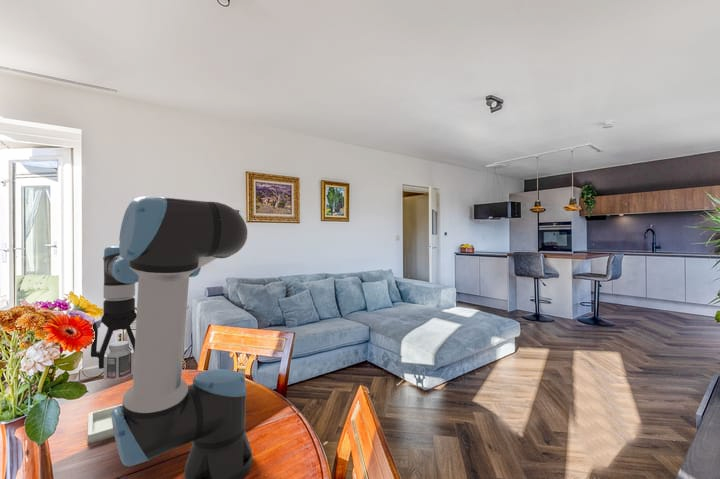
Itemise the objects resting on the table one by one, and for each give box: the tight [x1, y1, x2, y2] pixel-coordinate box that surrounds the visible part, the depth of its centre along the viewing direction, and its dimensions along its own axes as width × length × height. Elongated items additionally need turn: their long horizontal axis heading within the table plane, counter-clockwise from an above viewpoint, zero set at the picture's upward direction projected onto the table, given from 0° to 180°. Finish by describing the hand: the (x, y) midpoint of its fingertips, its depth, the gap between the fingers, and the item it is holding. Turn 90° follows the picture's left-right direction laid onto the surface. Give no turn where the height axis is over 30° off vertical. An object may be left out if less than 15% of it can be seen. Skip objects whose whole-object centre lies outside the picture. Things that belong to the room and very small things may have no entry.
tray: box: [87, 403, 123, 445], centre depth 96 cm, size 14×14×2 cm
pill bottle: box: [106, 340, 131, 381], centre depth 96 cm, size 6×6×10 cm
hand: (119, 375), depth 96 cm, fingers closed on pill bottle, 6 cm apart
